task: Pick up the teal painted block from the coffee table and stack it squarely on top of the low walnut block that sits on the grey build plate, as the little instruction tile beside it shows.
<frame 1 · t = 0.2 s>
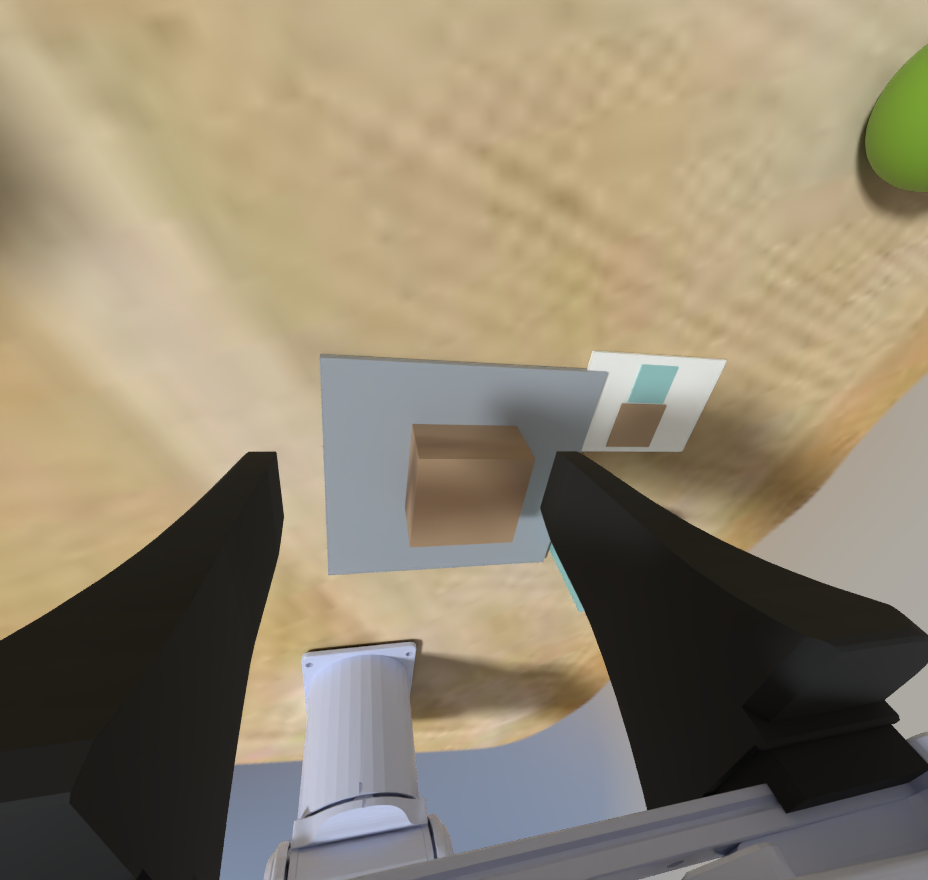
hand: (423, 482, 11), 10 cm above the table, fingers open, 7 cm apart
teal brick: (587, 522, 29), on the table
walnut brick: (458, 468, 24), resting on build plate
build plate: (455, 478, 24), on the table
snail figurine: (884, 127, 19), on the table
instruction tile: (641, 405, 24), on the table
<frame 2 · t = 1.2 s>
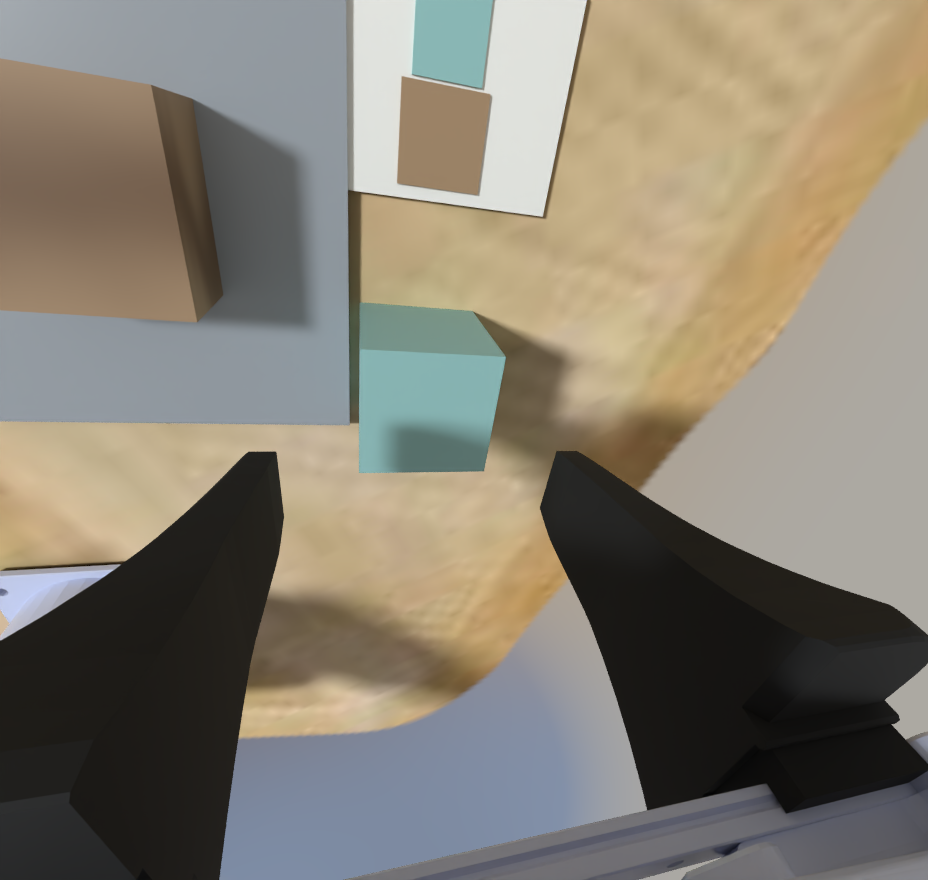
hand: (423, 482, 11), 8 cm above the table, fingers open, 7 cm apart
teal brick: (413, 359, 18), on the table
walnut brick: (108, 195, 13), resting on build plate
build plate: (123, 229, 14), on the table
instruction tile: (445, 94, 14), on the table
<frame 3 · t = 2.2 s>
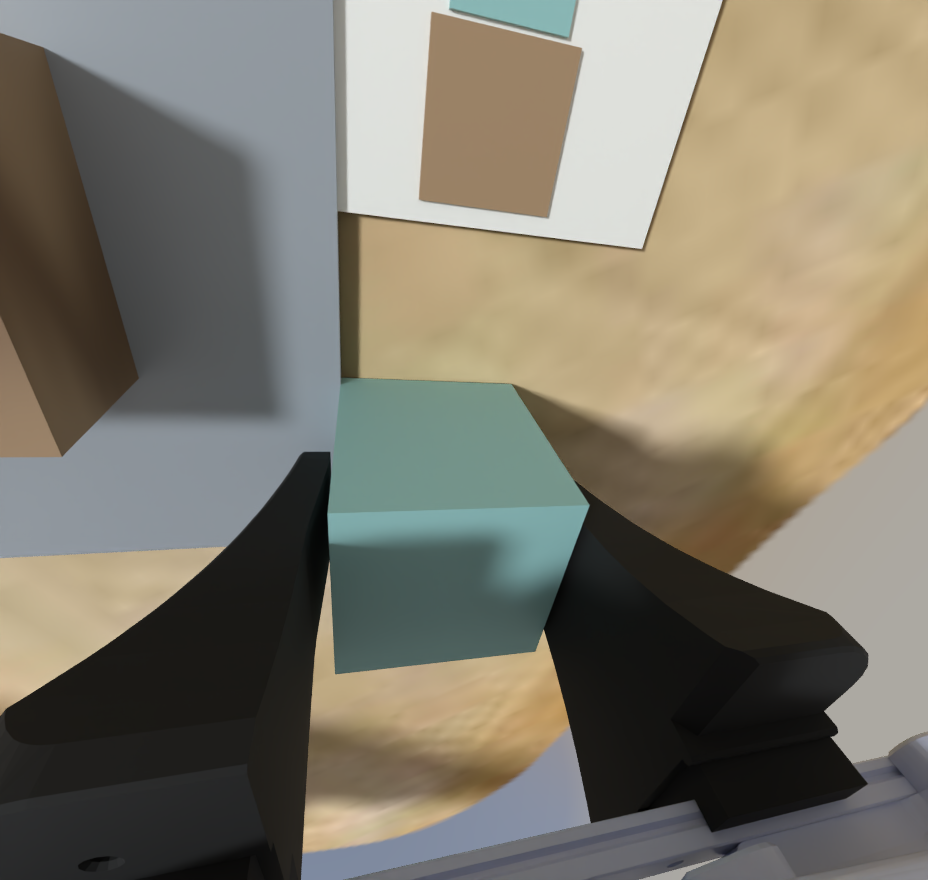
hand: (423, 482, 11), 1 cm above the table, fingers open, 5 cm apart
teal brick: (423, 451, 13), on the table, touching build plate, gripper
instruction tile: (503, 48, 8), on the table
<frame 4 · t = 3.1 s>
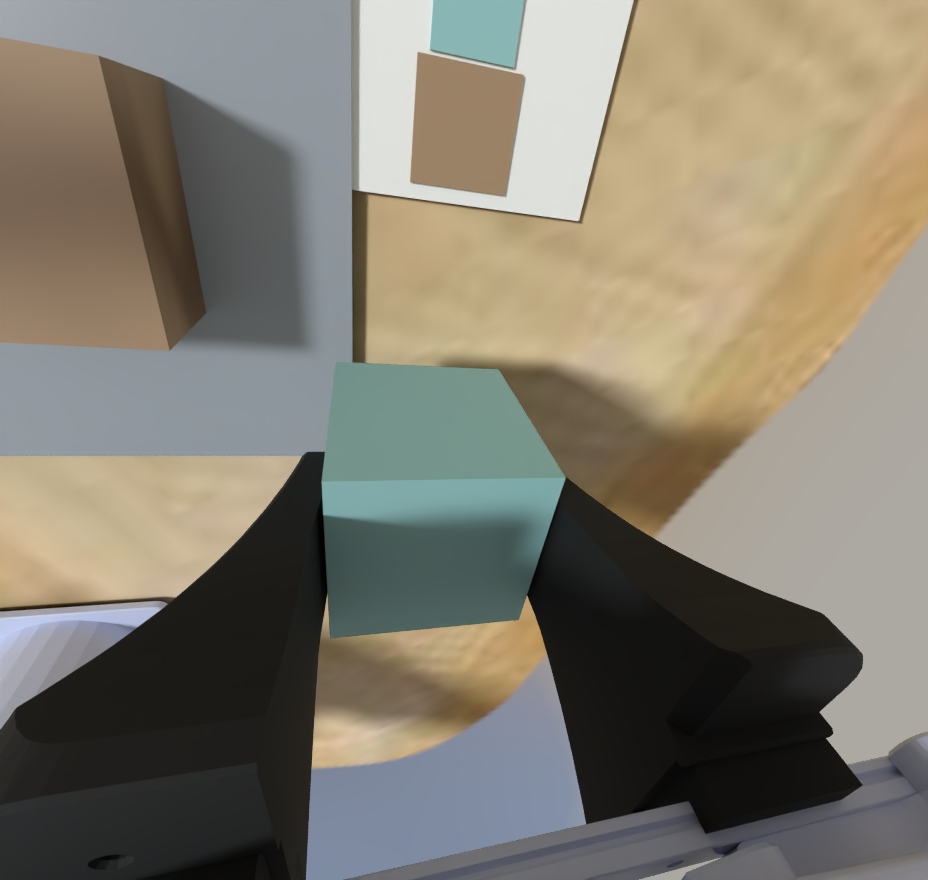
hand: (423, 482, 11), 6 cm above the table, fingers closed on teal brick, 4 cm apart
teal brick: (414, 434, 13), point 3 cm above the table, touching gripper
walnut brick: (64, 196, 11), resting on build plate
build plate: (86, 236, 12), on the table
instruction tile: (468, 75, 11), on the table
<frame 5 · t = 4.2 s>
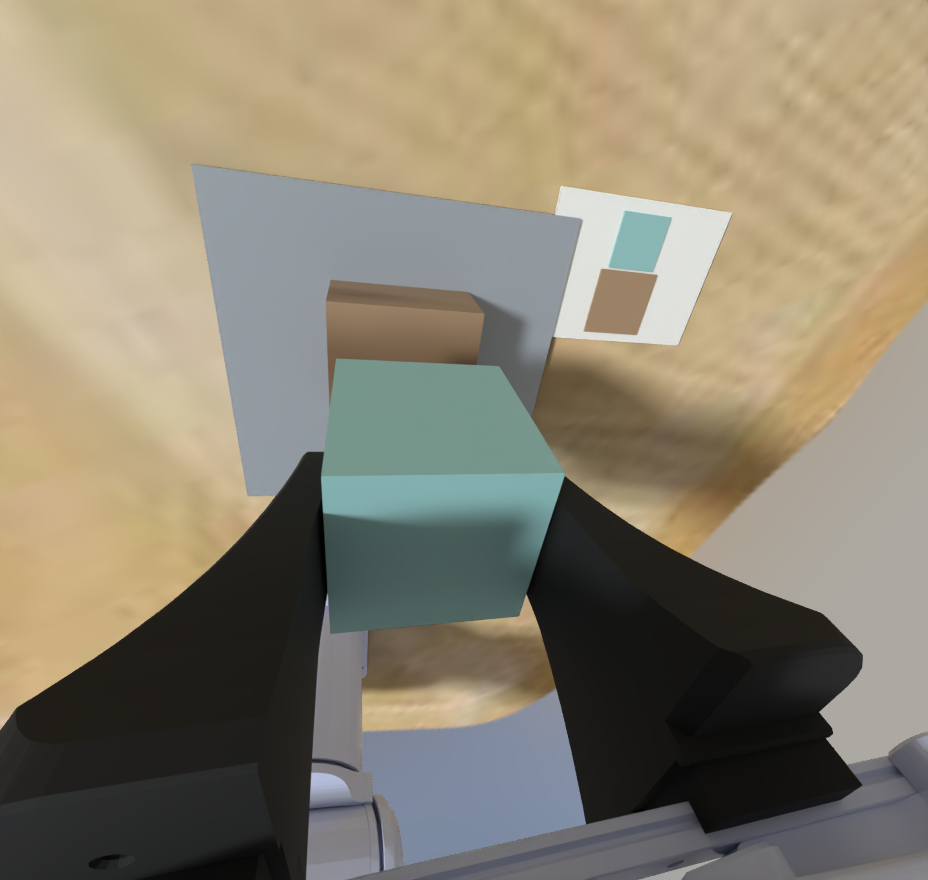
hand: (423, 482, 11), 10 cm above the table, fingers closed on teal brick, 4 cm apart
teal brick: (415, 431, 13), point 7 cm above the table, touching gripper
walnut brick: (398, 350, 19), resting on build plate
build plate: (396, 368, 20), on the table
instruction tile: (625, 275, 19), on the table
when the fingers open (6 cm above the table, at t = 5.5 s): teal brick stays where it is, resting on walnut brick.
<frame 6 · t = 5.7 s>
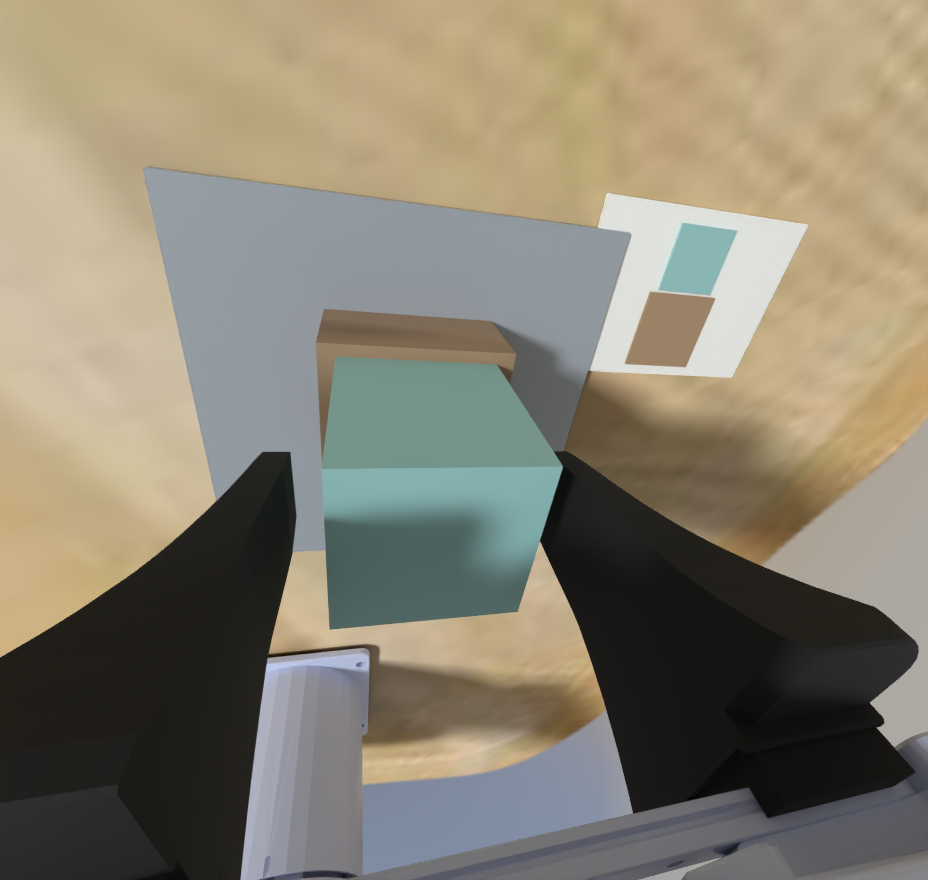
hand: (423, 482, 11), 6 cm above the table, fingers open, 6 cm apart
teal brick: (413, 429, 13), point 3 cm above the table, touching walnut brick
walnut brick: (405, 390, 16), resting on build plate, touching teal brick
build plate: (403, 408, 17), on the table
instruction tile: (677, 298, 16), on the table
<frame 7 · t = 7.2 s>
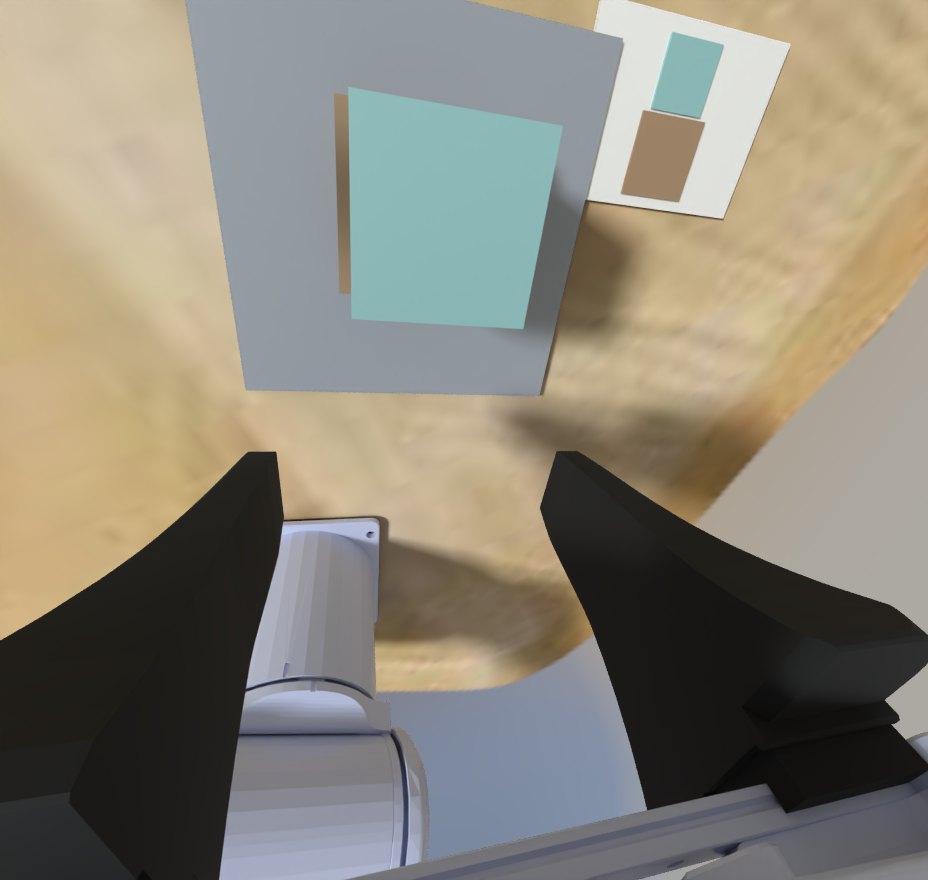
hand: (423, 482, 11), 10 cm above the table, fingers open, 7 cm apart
teal brick: (423, 208, 14), point 3 cm above the table, touching walnut brick
walnut brick: (414, 206, 17), resting on build plate, touching teal brick
build plate: (411, 233, 17), on the table
instruction tile: (668, 123, 17), on the table
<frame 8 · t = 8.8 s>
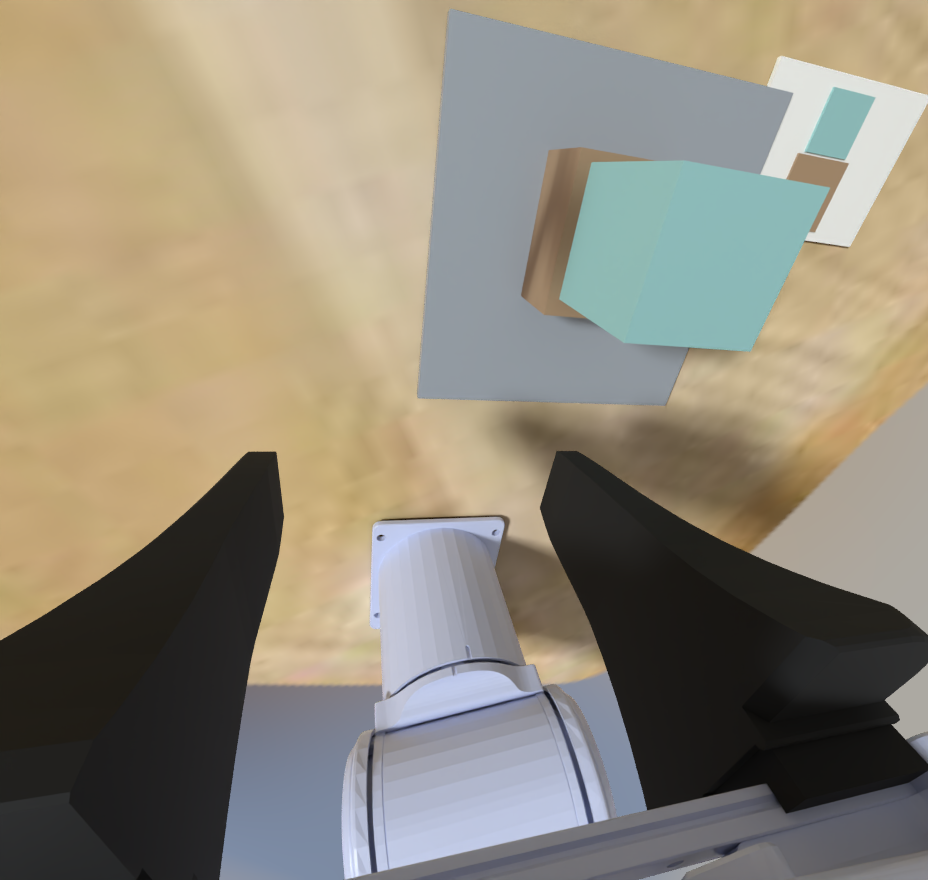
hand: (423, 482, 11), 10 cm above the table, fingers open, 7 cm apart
teal brick: (629, 242, 16), point 3 cm above the table, touching walnut brick
walnut brick: (593, 236, 19), resting on build plate, touching teal brick
build plate: (583, 259, 19), on the table
instruction tile: (816, 163, 19), on the table
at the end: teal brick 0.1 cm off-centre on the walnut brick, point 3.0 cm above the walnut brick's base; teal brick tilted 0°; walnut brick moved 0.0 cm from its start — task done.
